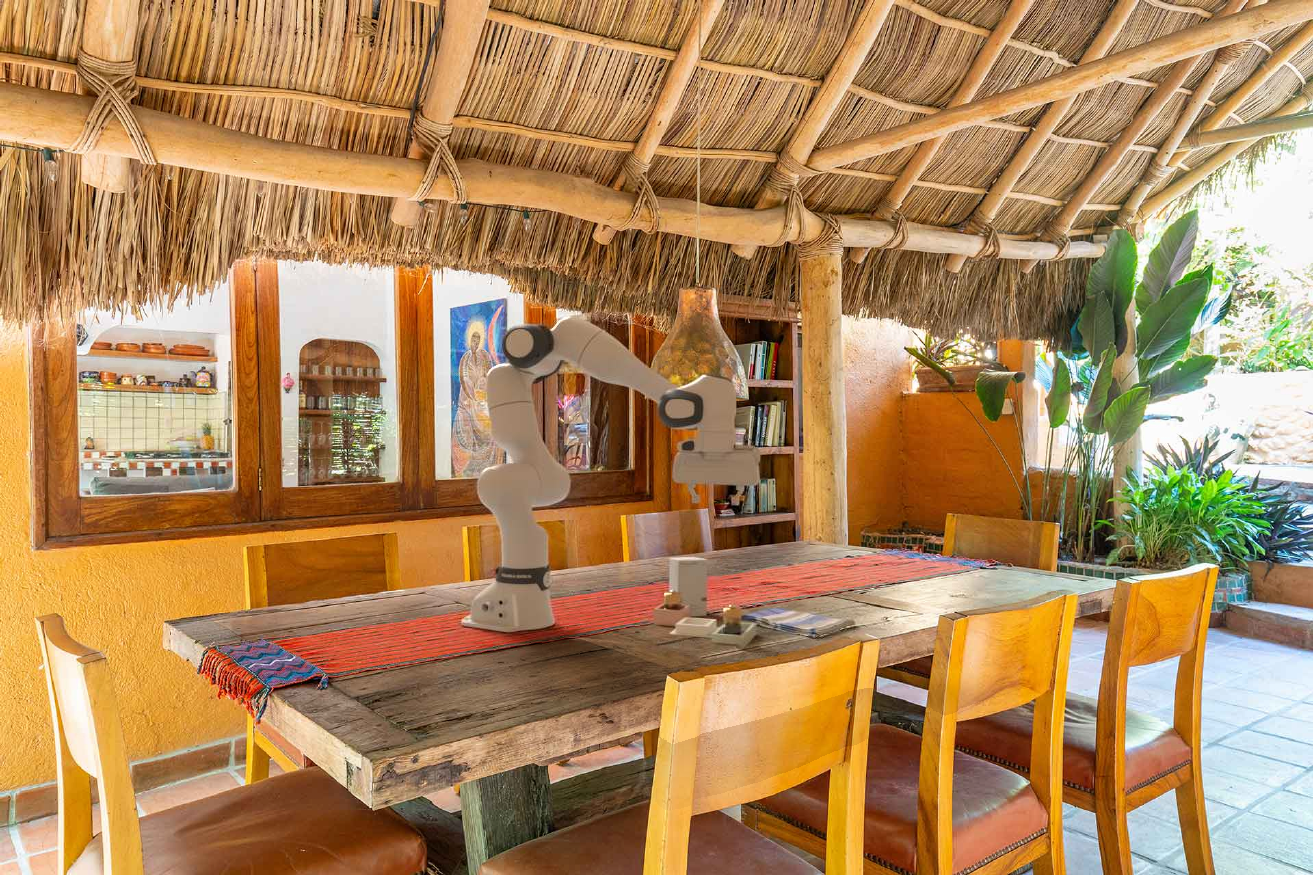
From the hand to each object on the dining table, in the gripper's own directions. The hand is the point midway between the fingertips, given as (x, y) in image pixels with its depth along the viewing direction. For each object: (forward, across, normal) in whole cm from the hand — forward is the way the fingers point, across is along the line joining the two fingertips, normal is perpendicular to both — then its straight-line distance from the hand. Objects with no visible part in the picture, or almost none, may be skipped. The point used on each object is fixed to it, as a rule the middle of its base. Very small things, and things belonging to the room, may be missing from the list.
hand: (715, 503), depth 201 cm
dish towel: (+30, -17, -13) cm, 37 cm away
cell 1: (+29, +11, -2) cm, 31 cm away
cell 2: (+29, -7, +9) cm, 31 cm away
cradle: (+30, +3, +4) cm, 30 cm away
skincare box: (+30, +10, -12) cm, 34 cm away
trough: (+30, -7, +6) cm, 31 cm away
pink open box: (+30, +11, -2) cm, 32 cm away
